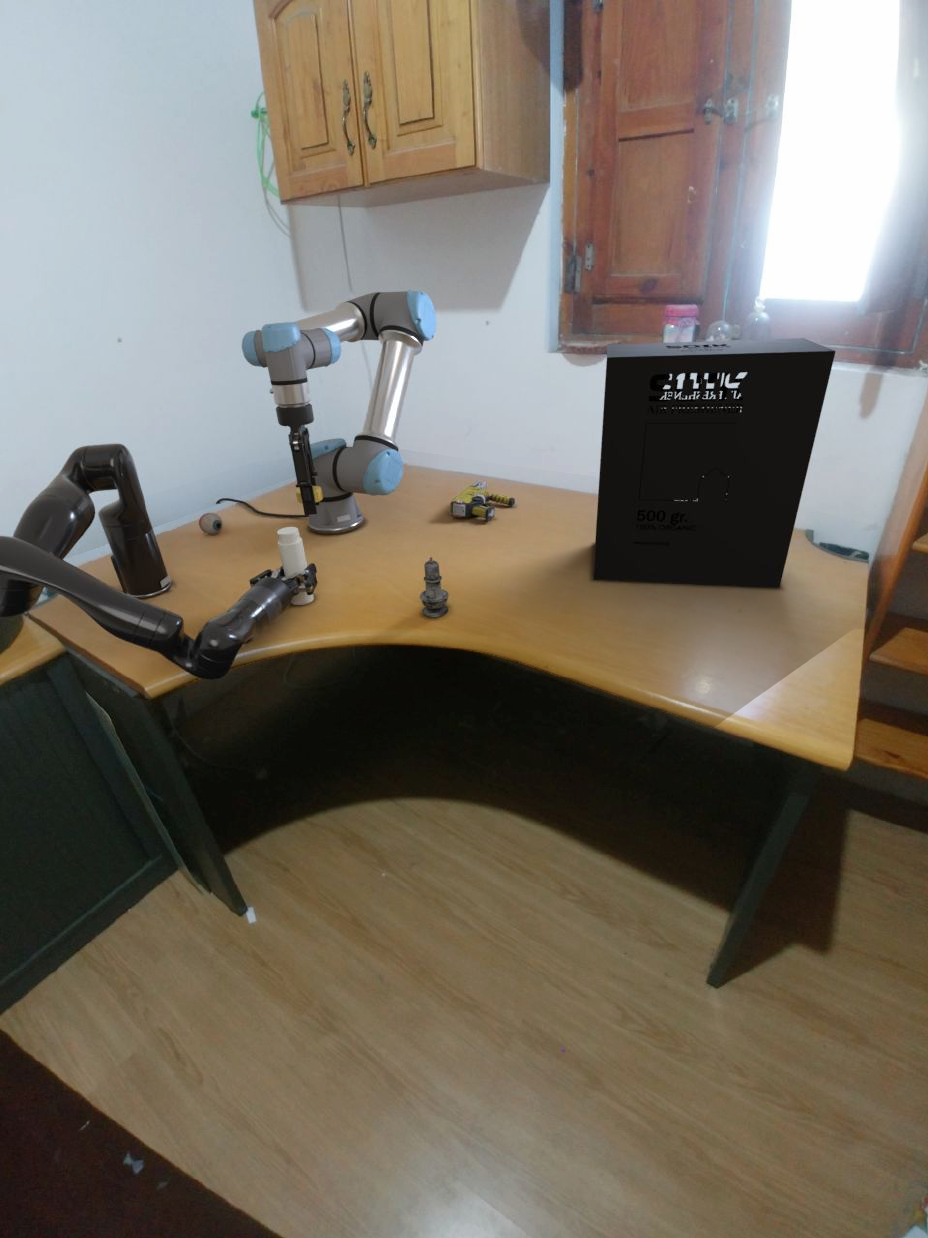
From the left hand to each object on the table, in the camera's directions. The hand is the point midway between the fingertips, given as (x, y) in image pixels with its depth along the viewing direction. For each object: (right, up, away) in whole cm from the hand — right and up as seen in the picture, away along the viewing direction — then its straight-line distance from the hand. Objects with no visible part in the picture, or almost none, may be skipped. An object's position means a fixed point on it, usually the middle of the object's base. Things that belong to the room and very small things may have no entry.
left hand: (301, 566), depth 130 cm
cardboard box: (+84, +1, +7) cm, 84 cm away
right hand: (0, +14, +9) cm, 17 cm away
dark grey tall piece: (+29, -10, -6) cm, 31 cm away
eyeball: (-35, +12, +38) cm, 53 cm away
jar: (0, -7, +1) cm, 7 cm away
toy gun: (+42, +21, +46) cm, 65 cm away
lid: (0, +18, +7) cm, 19 cm away
